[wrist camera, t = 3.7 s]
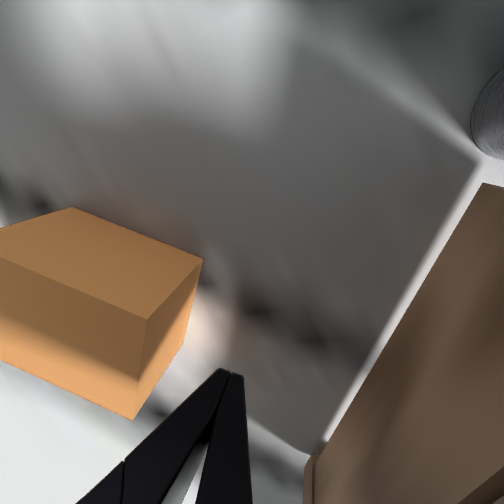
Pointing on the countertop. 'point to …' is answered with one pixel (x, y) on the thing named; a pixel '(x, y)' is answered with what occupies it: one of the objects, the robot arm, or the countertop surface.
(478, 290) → the gate
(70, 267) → the orange-brown rectangular block
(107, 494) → the robot arm
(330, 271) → the countertop surface
